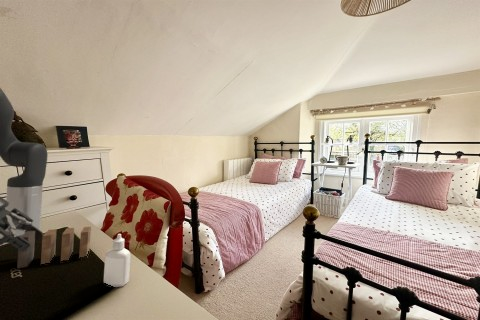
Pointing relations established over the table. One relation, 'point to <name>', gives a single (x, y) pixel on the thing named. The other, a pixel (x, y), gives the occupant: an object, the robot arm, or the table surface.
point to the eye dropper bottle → (117, 264)
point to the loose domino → (28, 254)
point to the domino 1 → (48, 246)
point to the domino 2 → (67, 244)
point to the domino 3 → (85, 241)
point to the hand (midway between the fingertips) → (34, 241)
